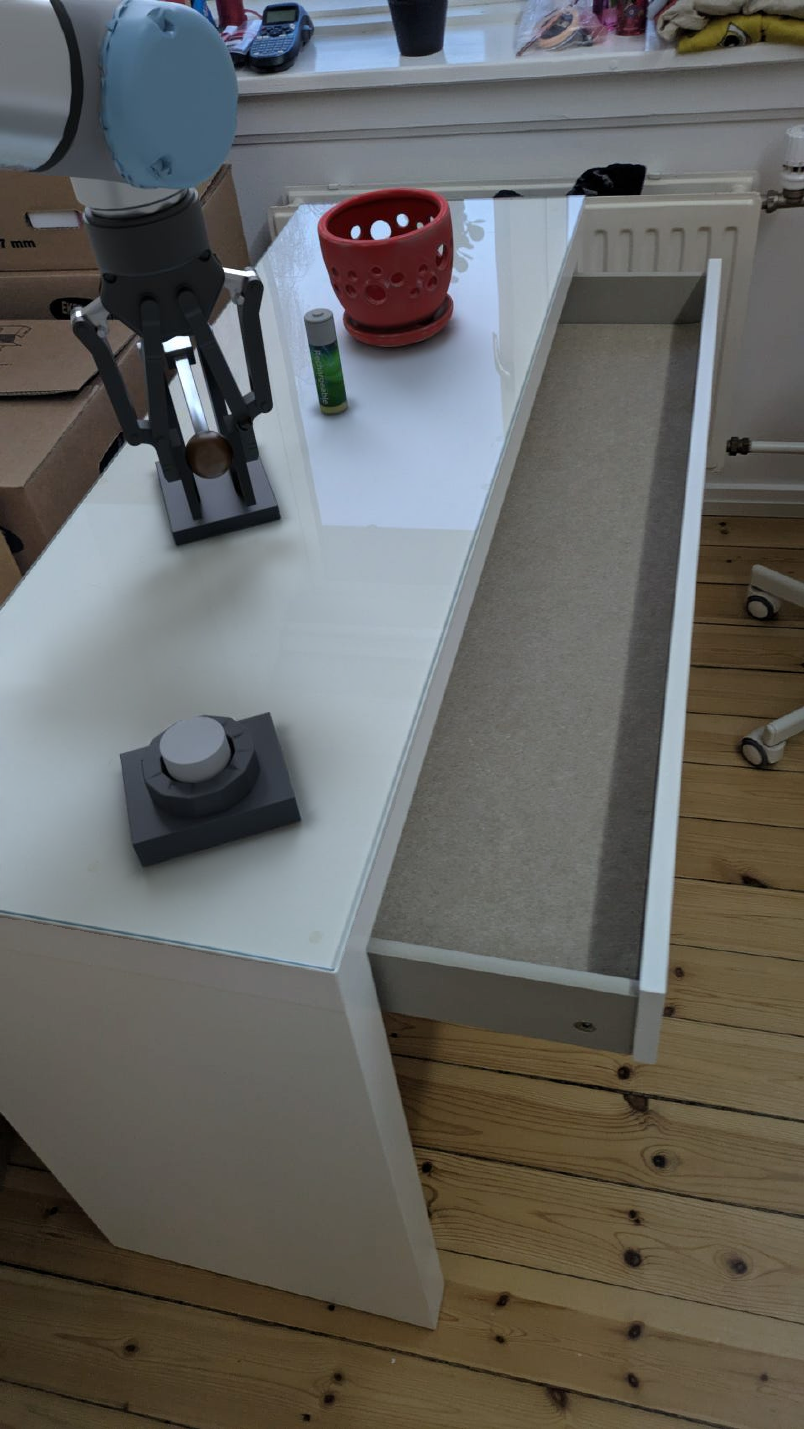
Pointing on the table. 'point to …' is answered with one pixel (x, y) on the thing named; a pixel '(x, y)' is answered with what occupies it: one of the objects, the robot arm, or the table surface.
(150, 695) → the table surface
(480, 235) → the table surface
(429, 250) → the flower pot
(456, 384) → the table surface
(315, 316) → the battery
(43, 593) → the table surface
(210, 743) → the flush button
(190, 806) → the button housing
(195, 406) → the flush lever
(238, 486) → the lever bracket
